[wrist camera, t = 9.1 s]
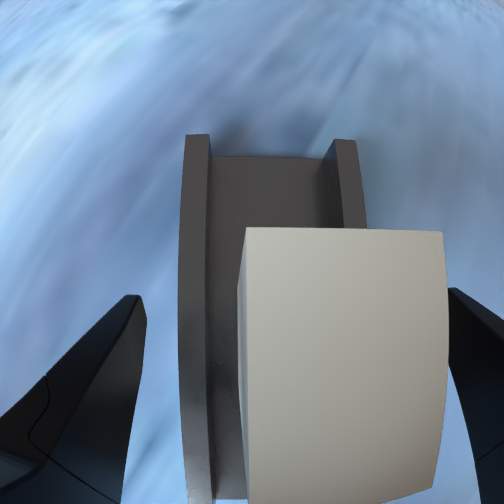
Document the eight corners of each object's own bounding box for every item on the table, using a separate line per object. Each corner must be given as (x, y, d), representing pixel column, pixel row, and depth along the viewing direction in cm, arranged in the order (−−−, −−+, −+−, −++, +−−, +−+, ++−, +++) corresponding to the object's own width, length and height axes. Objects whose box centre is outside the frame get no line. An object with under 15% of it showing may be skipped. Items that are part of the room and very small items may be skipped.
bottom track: (342, 484, 15) (359, 508, 12) (196, 493, 15) (190, 521, 12) (338, 164, 19) (355, 140, 16) (192, 161, 18) (185, 134, 15)
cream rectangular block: (305, 380, 16) (431, 487, 4) (238, 383, 16) (250, 523, 4) (304, 287, 17) (442, 231, 5) (237, 288, 17) (246, 227, 5)
